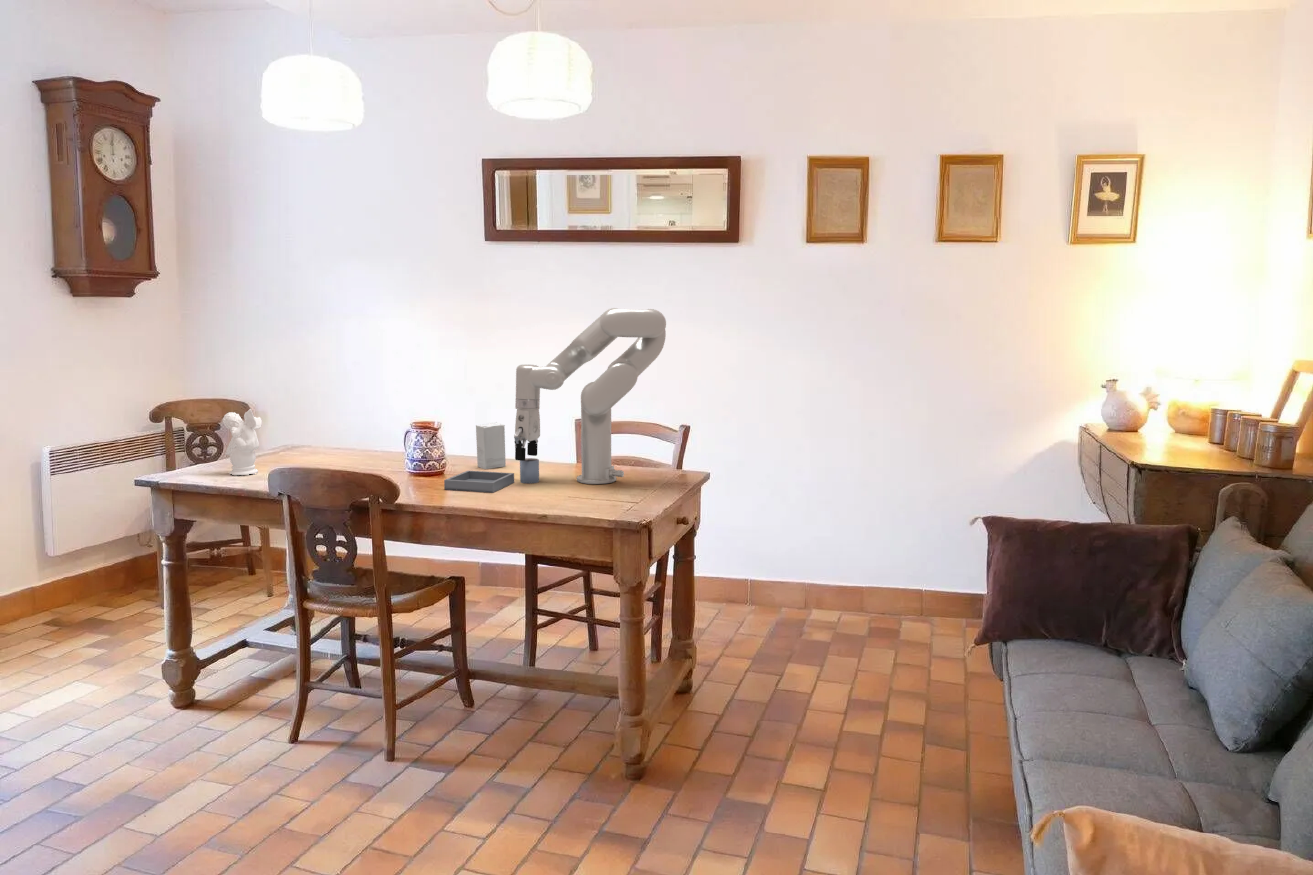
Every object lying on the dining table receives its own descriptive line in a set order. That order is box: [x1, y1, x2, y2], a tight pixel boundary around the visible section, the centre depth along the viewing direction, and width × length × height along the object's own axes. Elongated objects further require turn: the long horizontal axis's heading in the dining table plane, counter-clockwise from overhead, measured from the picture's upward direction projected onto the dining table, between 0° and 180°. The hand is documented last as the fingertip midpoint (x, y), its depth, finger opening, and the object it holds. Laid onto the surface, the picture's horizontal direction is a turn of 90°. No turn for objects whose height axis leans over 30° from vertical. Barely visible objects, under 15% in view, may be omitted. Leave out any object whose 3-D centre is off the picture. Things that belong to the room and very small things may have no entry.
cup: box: [519, 457, 540, 484], centre depth 308 cm, size 6×6×7 cm
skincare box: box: [475, 422, 507, 470], centre depth 331 cm, size 8×6×15 cm
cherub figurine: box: [222, 408, 263, 476], centre depth 319 cm, size 12×12×22 cm
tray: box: [443, 470, 515, 494], centre depth 301 cm, size 16×16×3 cm
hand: (526, 457), depth 307 cm, fingers open, 9 cm apart
